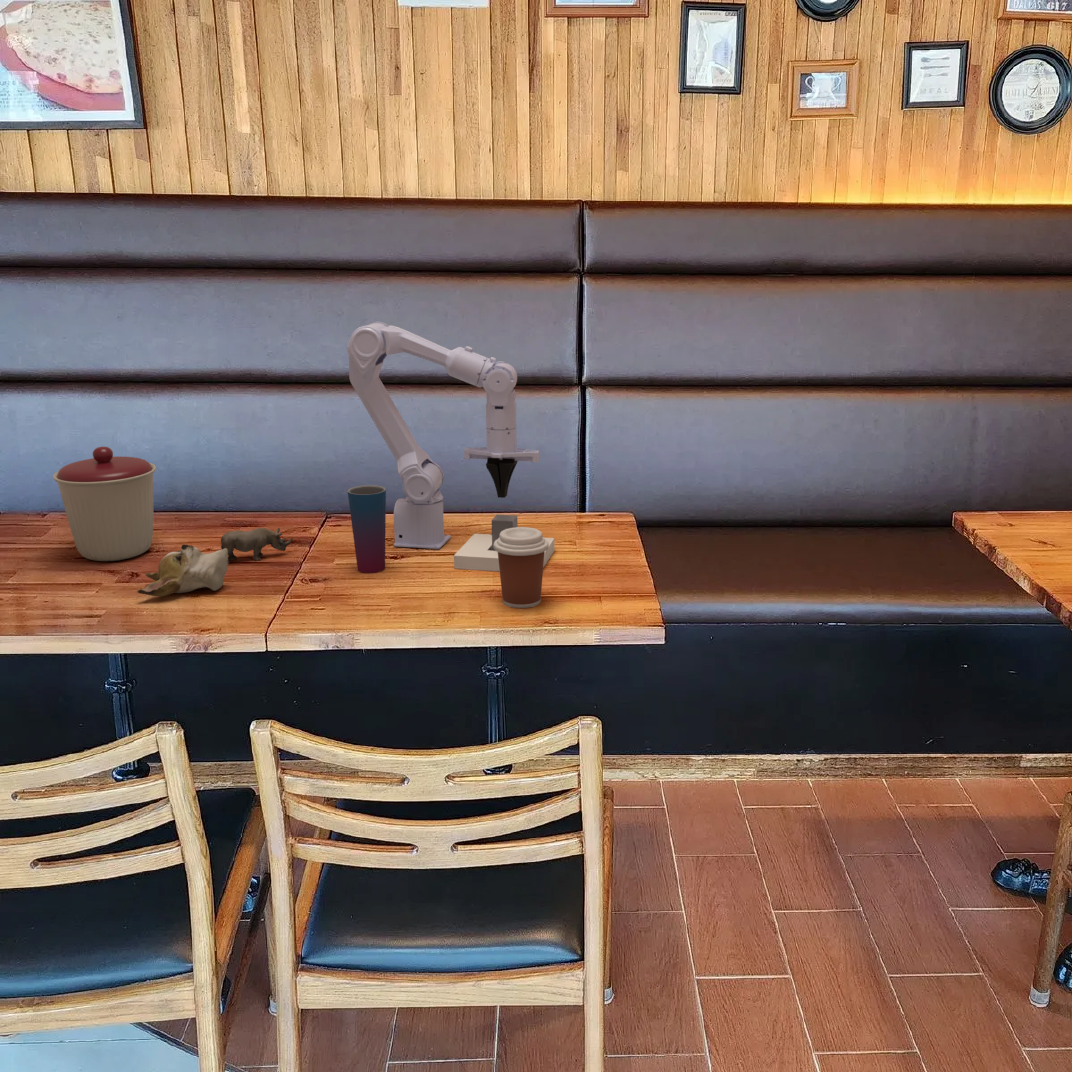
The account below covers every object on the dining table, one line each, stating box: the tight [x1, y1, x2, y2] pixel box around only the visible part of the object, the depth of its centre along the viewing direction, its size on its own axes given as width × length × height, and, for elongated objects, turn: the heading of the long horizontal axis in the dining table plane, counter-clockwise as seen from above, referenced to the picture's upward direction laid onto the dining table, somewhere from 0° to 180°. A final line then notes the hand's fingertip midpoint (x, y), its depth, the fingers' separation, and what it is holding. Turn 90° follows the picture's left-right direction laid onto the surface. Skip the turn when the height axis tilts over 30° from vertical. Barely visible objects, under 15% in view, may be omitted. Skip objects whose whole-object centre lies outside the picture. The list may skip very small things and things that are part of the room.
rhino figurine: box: [220, 527, 293, 565], centre depth 191 cm, size 4×14×6 cm, turn 112°
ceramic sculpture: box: [136, 544, 229, 597], centre depth 174 cm, size 11×9×15 cm
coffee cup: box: [493, 526, 549, 609], centre depth 167 cm, size 9×9×12 cm
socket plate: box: [453, 533, 555, 572], centre depth 190 cm, size 16×14×2 cm
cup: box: [347, 484, 387, 574], centre depth 183 cm, size 7×7×15 cm
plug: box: [491, 514, 519, 551], centre depth 189 cm, size 4×4×8 cm
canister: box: [52, 446, 157, 562], centre depth 192 cm, size 18×18×21 cm
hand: (502, 496), depth 196 cm, fingers closed
